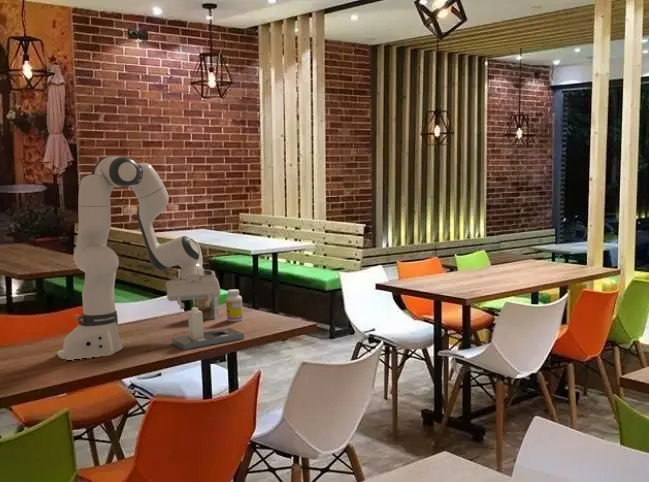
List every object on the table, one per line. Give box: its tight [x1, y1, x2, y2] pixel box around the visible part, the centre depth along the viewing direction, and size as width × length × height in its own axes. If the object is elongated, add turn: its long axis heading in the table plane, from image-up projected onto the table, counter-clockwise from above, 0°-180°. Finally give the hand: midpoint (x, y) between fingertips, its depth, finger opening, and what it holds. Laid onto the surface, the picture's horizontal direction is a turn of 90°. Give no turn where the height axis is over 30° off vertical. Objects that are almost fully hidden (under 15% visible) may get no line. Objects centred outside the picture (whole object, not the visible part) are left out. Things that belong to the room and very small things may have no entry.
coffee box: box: [194, 297, 219, 320], centre depth 305 cm, size 9×6×16 cm
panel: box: [171, 327, 245, 351], centre depth 265 cm, size 24×12×2 cm, turn 123°
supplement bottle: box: [225, 288, 244, 323], centre depth 298 cm, size 7×7×13 cm
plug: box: [187, 306, 204, 341], centre depth 262 cm, size 4×4×13 cm
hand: (194, 307), depth 269 cm, fingers open, 8 cm apart
